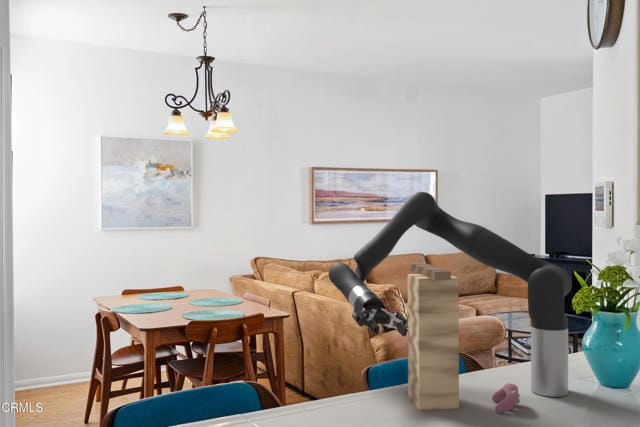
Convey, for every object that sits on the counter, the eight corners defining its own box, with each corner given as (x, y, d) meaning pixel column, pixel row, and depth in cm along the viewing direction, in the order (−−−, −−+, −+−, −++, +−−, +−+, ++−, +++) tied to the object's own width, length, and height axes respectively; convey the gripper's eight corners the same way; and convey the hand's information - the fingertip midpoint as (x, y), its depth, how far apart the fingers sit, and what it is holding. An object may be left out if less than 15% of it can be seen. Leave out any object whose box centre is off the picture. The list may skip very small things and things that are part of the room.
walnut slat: (409, 270, 166) (409, 262, 166) (423, 269, 167) (423, 262, 167) (434, 280, 144) (434, 271, 144) (450, 279, 145) (450, 271, 145)
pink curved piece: (511, 421, 144) (525, 395, 143) (493, 411, 145) (507, 386, 144) (507, 407, 154) (519, 383, 153) (490, 398, 154) (503, 374, 154)
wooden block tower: (407, 397, 157) (407, 274, 157) (445, 395, 159) (445, 273, 158) (419, 410, 147) (418, 278, 147) (459, 408, 149) (458, 277, 148)
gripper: (346, 288, 165) (371, 317, 151) (392, 293, 171) (419, 321, 156) (339, 313, 167) (363, 344, 153) (384, 317, 173) (411, 346, 158)
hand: (391, 332), depth 155 cm, fingers open, 7 cm apart
